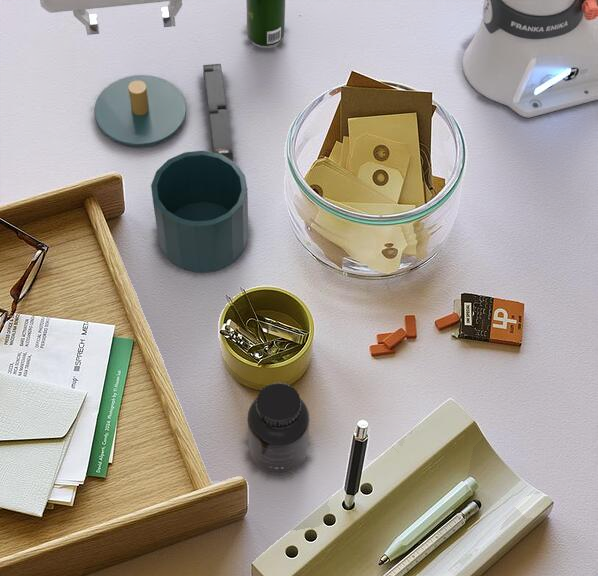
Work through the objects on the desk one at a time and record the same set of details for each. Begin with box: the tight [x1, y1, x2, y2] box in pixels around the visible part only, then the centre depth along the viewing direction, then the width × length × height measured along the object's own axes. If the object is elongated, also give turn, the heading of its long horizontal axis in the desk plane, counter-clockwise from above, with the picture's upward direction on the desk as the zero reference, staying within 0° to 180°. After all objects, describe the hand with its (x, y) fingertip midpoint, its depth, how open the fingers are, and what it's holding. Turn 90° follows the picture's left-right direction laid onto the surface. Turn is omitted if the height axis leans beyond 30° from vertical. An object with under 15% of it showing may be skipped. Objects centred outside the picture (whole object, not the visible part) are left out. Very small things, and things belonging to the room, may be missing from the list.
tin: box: [150, 150, 249, 273], centre depth 130 cm, size 11×11×10 cm
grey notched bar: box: [202, 63, 234, 162], centre depth 142 cm, size 18×3×3 cm, turn 7°
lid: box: [94, 74, 187, 147], centre depth 141 cm, size 12×12×5 cm
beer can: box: [245, 0, 286, 49], centre depth 145 cm, size 5×5×12 cm
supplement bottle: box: [246, 381, 310, 475], centre depth 116 cm, size 7×7×12 cm
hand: (131, 27), depth 130 cm, fingers open, 8 cm apart
